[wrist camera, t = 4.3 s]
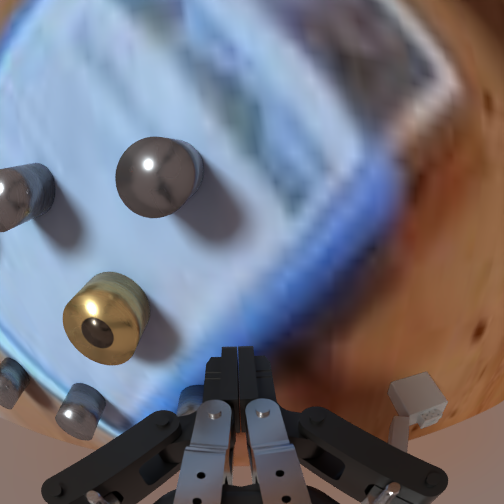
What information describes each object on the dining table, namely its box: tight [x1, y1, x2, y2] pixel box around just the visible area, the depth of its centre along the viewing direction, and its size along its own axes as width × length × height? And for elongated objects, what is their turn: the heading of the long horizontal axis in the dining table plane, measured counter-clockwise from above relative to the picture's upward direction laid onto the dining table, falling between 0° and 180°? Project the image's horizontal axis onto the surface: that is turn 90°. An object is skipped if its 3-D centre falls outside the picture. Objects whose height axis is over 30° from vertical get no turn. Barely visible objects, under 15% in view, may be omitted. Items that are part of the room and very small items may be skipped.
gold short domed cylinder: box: [63, 272, 150, 365], centre depth 17 cm, size 5×5×4 cm
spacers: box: [0, 137, 204, 440], centre depth 17 cm, size 24×22×4 cm
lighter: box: [388, 372, 448, 453], centre depth 19 cm, size 7×2×8 cm, turn 95°
